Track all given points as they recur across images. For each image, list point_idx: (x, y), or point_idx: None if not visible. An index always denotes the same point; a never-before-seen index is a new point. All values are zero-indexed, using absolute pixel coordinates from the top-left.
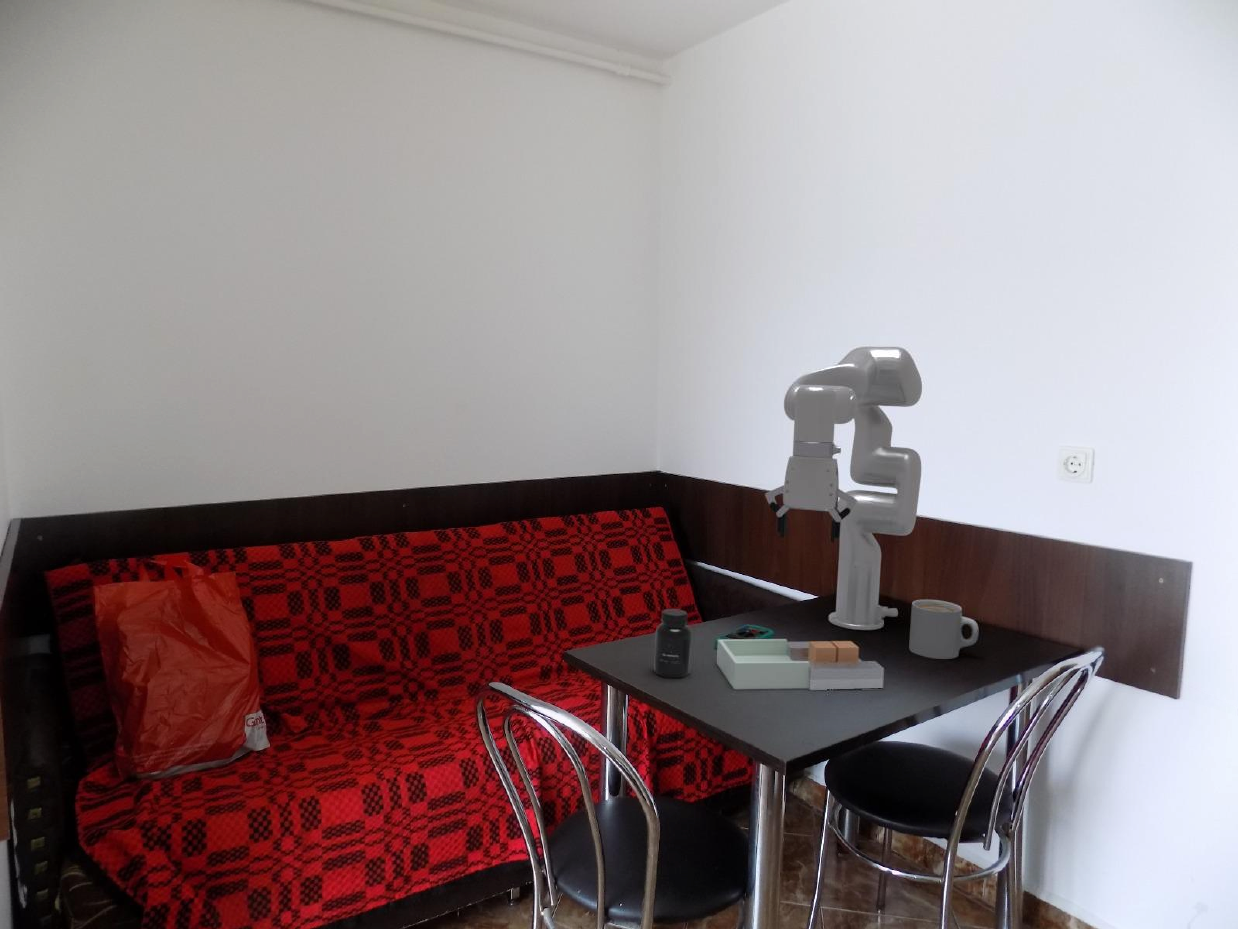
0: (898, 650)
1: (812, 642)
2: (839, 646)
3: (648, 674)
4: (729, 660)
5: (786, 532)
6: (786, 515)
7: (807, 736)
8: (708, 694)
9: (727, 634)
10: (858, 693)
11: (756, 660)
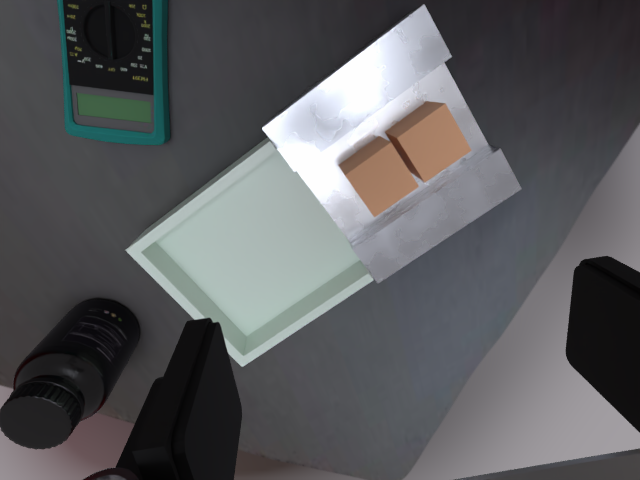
0: None
1: (355, 178)
2: (424, 170)
3: None
4: None
5: (217, 336)
6: (167, 453)
7: (408, 423)
8: None
9: (67, 69)
10: None
11: (233, 224)
